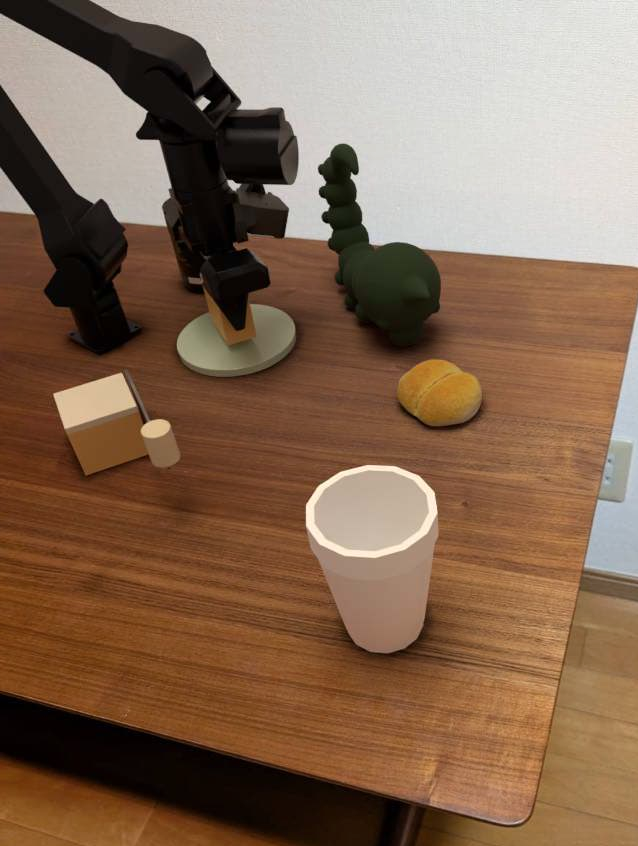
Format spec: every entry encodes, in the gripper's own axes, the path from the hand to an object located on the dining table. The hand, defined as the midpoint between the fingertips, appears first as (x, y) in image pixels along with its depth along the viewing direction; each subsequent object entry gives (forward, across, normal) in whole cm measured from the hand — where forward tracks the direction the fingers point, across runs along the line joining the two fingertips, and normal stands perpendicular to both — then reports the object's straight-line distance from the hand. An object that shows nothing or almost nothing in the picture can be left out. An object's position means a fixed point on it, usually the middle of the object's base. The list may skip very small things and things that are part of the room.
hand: (231, 316), depth 96 cm
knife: (+3, -17, +14) cm, 22 cm away
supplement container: (+4, +16, -1) cm, 16 cm away
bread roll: (+4, -23, -15) cm, 28 cm away
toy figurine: (+4, -4, -17) cm, 18 cm away
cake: (+4, -12, +18) cm, 21 cm away
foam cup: (+4, -46, +3) cm, 47 cm away
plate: (+4, 0, 0) cm, 4 cm away
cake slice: (+2, 0, 0) cm, 2 cm away
